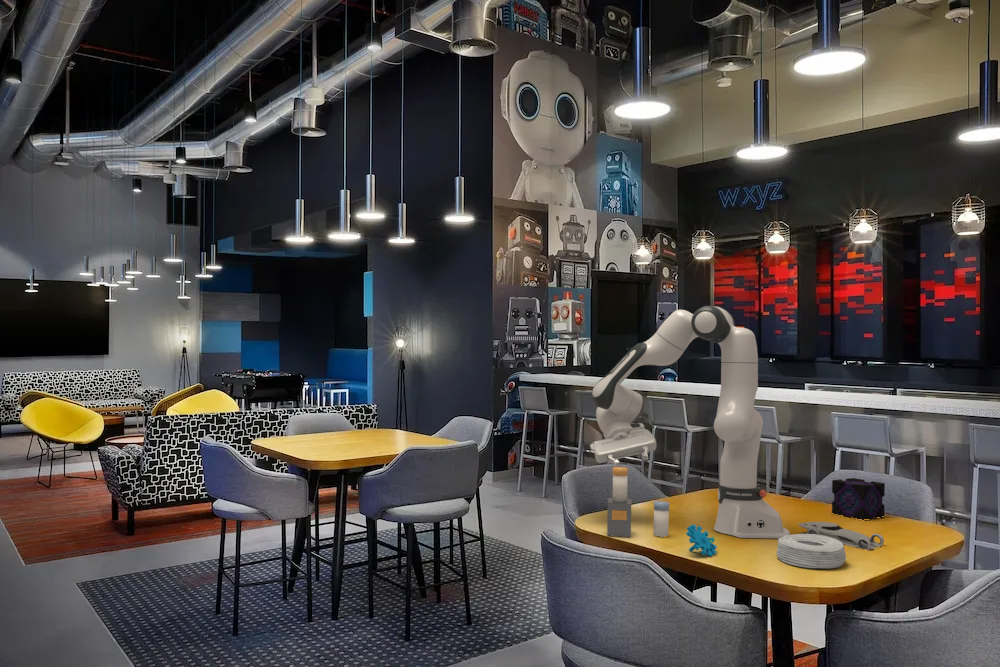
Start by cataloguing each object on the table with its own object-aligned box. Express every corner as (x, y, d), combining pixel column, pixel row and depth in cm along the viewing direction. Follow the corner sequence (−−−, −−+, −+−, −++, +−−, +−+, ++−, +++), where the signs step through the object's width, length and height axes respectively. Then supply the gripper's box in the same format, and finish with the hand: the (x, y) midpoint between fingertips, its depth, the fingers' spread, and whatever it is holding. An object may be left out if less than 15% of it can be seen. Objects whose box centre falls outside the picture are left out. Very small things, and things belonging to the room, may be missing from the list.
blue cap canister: (667, 534, 238) (668, 501, 238) (669, 537, 233) (670, 504, 233) (652, 533, 238) (653, 500, 238) (653, 536, 234) (654, 503, 234)
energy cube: (853, 511, 279) (853, 477, 280) (884, 517, 269) (884, 483, 269) (831, 514, 273) (832, 480, 274) (863, 521, 263) (863, 485, 263)
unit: (630, 531, 240) (631, 498, 241) (630, 537, 232) (631, 504, 232) (608, 529, 242) (608, 497, 242) (607, 536, 233) (607, 502, 233)
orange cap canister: (627, 499, 239) (627, 467, 239) (627, 502, 234) (627, 469, 235) (612, 499, 240) (612, 466, 240) (612, 501, 235) (612, 468, 235)
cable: (836, 556, 217) (837, 534, 217) (854, 573, 199) (854, 550, 200) (771, 552, 220) (771, 530, 220) (783, 569, 202) (783, 545, 203)
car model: (870, 552, 222) (871, 535, 222) (790, 536, 240) (791, 520, 240) (887, 547, 229) (887, 530, 229) (808, 531, 247) (808, 515, 247)
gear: (701, 554, 208) (683, 522, 215) (687, 566, 211) (670, 534, 218) (726, 554, 215) (708, 523, 221) (712, 565, 218) (694, 535, 224)
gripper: (587, 435, 256) (599, 461, 244) (647, 422, 257) (661, 446, 245) (589, 450, 259) (601, 476, 247) (648, 437, 260) (662, 462, 248)
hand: (631, 461), depth 246 cm, fingers open, 8 cm apart
